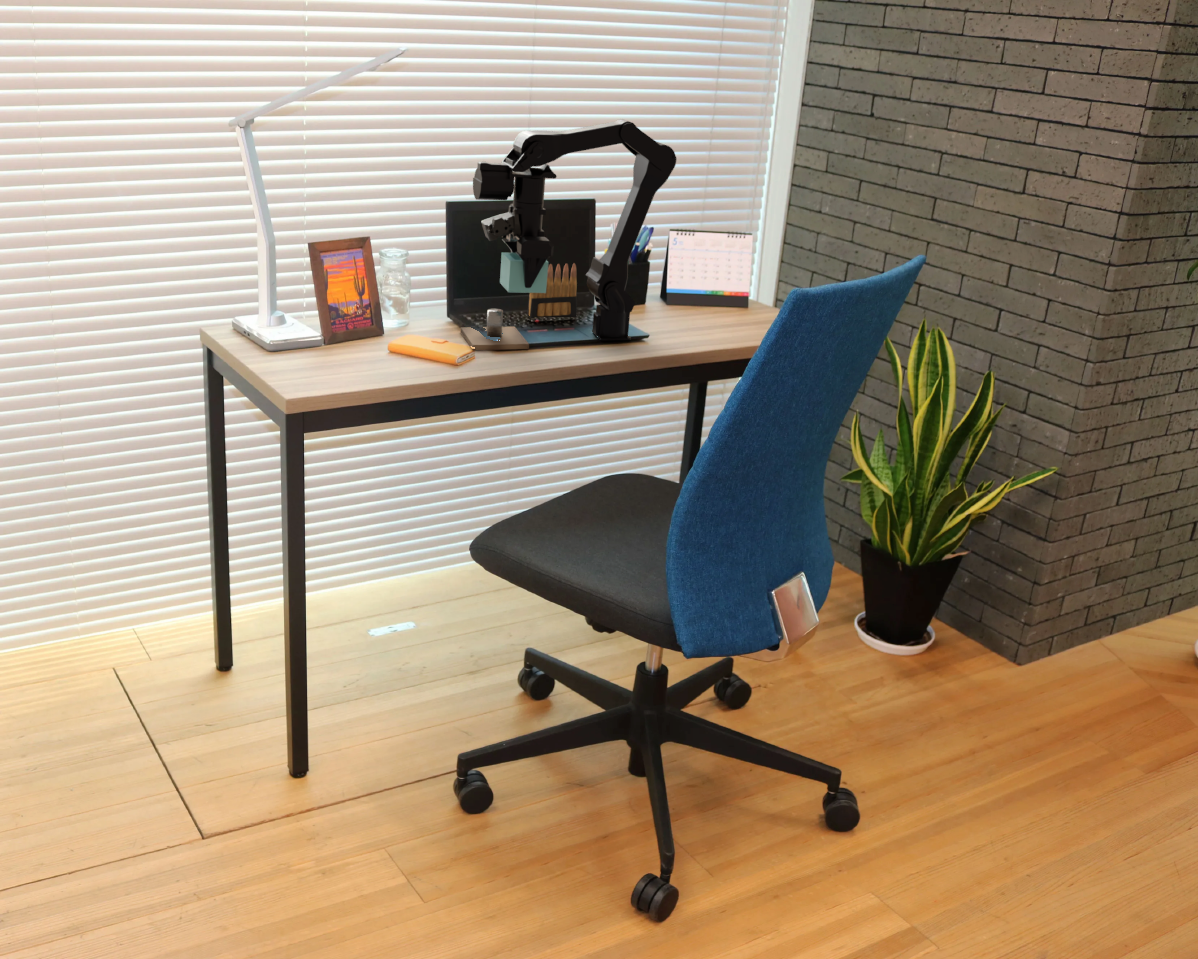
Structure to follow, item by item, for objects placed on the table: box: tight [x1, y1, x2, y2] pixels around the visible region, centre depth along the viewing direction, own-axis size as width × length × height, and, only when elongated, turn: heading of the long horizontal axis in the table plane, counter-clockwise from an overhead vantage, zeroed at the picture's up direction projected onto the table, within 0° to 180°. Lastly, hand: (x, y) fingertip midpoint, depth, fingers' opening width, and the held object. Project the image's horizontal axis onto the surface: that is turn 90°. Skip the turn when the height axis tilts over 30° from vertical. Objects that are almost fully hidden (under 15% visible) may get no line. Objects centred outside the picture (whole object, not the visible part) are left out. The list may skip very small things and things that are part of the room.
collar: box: [499, 251, 549, 294], centre depth 221 cm, size 7×7×6 cm
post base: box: [460, 308, 530, 351], centre depth 224 cm, size 11×12×6 cm
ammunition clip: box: [526, 262, 578, 318], centre depth 240 cm, size 11×2×12 cm, turn 115°
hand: (523, 282), depth 222 cm, fingers closed on collar, 7 cm apart
